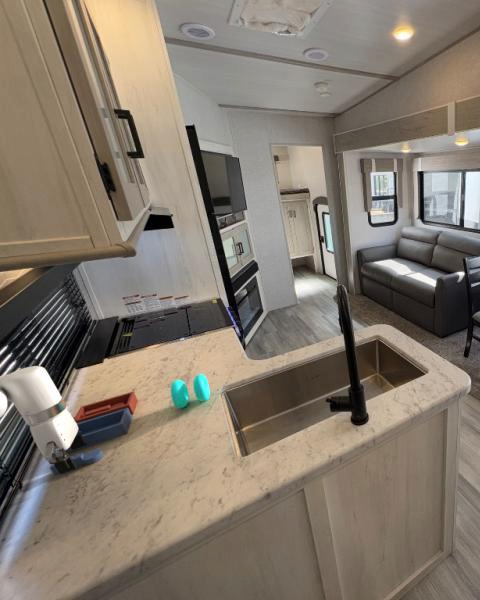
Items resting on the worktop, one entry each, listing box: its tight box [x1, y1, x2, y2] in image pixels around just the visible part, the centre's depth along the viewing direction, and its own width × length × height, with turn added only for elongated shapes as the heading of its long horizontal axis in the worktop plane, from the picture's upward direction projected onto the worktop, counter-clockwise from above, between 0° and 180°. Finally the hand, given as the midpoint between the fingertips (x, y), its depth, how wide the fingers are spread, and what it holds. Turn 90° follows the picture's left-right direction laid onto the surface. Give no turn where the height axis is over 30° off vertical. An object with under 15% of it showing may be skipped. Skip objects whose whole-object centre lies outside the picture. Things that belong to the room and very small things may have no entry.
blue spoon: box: [49, 448, 104, 476], centre depth 88 cm, size 10×4×3 cm, turn 122°
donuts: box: [170, 373, 211, 409], centre depth 111 cm, size 10×10×10 cm
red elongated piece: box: [85, 403, 125, 417], centre depth 107 cm, size 10×4×3 cm, turn 122°
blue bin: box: [67, 408, 133, 454], centre depth 99 cm, size 15×9×4 cm, turn 122°
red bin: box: [74, 390, 139, 424], centre depth 107 cm, size 15×9×4 cm, turn 122°
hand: (74, 458), depth 88 cm, fingers open, 9 cm apart
